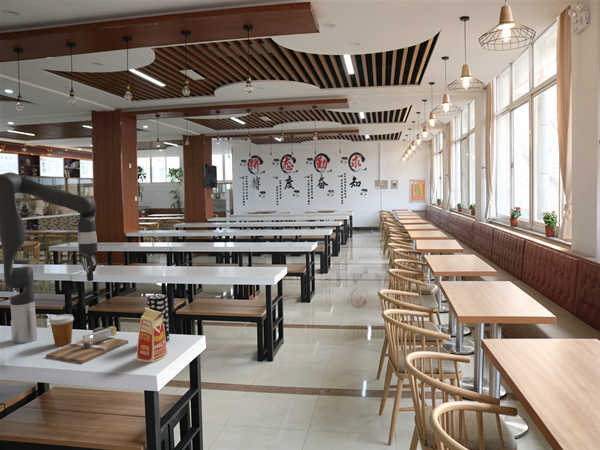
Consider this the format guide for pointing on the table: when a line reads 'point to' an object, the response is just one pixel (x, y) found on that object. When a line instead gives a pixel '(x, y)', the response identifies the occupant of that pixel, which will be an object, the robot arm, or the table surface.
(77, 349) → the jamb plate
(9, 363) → the table surface
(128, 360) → the table surface
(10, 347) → the table surface
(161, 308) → the spotted tube
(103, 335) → the swing bar
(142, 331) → the milk carton
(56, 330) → the disposable coffee cup
